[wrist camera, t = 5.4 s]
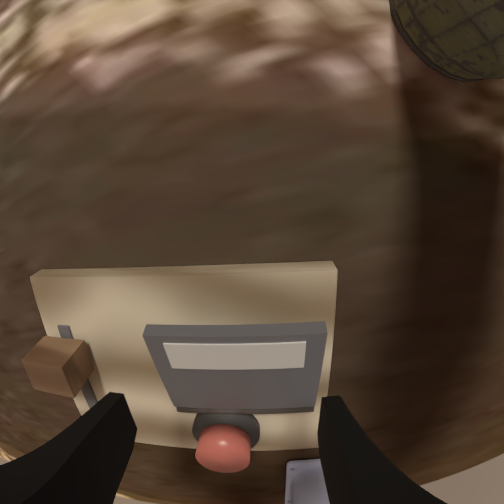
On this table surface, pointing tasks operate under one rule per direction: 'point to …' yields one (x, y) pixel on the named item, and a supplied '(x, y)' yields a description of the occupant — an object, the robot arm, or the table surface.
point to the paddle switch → (239, 364)
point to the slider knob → (58, 365)
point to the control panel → (185, 313)
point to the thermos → (455, 35)
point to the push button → (223, 448)
